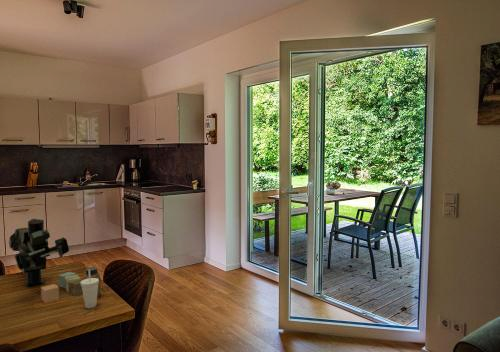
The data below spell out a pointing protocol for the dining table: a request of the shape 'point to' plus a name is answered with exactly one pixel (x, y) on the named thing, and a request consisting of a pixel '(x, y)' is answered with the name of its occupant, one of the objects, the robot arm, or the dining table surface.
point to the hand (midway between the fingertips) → (49, 260)
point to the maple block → (70, 278)
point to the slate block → (62, 278)
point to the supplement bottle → (93, 275)
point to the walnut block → (75, 287)
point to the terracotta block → (50, 293)
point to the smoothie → (90, 291)
